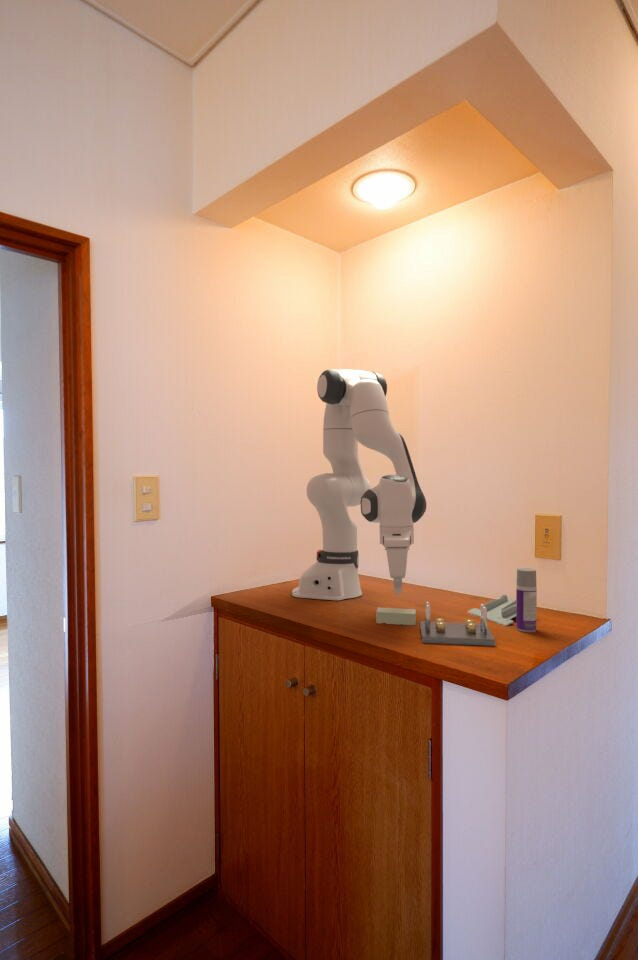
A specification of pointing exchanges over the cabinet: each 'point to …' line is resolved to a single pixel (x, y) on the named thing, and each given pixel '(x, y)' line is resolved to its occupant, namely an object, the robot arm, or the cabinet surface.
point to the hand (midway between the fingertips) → (398, 590)
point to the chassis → (456, 630)
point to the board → (396, 616)
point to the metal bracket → (499, 610)
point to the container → (526, 600)
